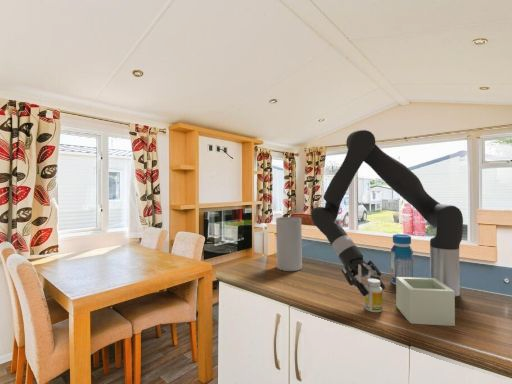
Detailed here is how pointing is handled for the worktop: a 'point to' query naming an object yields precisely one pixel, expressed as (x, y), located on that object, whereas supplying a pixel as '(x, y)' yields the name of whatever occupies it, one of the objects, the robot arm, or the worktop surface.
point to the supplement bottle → (374, 296)
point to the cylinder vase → (289, 243)
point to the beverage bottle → (401, 257)
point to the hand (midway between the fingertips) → (375, 292)
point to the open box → (425, 301)
